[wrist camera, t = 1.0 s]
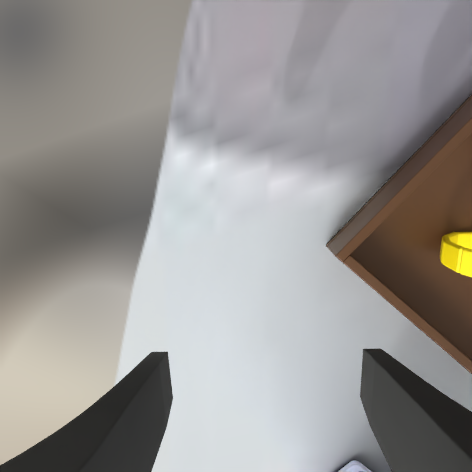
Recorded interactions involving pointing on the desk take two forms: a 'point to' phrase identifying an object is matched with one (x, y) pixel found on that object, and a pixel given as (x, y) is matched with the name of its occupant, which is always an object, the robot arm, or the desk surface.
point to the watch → (457, 252)
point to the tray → (420, 237)
